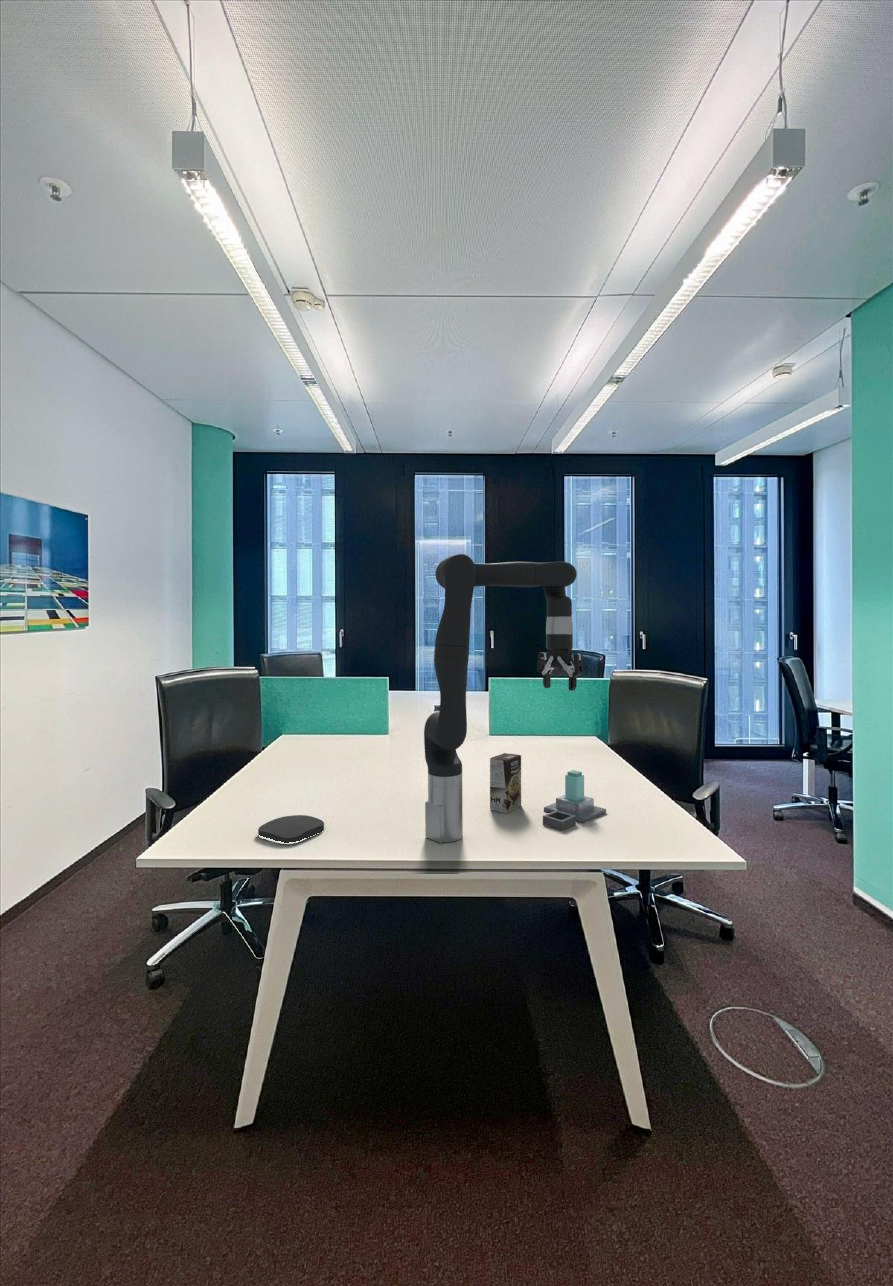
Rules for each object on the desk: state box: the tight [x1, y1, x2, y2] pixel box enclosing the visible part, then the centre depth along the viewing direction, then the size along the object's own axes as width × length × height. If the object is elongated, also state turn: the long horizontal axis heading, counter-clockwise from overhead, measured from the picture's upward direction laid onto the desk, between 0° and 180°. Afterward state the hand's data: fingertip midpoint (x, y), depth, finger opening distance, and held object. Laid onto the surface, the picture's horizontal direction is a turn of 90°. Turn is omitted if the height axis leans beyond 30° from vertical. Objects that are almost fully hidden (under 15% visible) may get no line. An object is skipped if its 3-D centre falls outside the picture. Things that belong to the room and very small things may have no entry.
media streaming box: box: [257, 814, 325, 843], centre depth 148 cm, size 15×15×3 cm
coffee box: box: [489, 752, 522, 814], centre depth 167 cm, size 9×6×16 cm
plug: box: [564, 769, 585, 802], centre depth 162 cm, size 4×4×11 cm
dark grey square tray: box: [542, 810, 577, 832], centre depth 152 cm, size 7×7×2 cm
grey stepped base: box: [543, 794, 607, 824], centre depth 163 cm, size 12×14×4 cm
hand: (559, 689), depth 155 cm, fingers open, 8 cm apart
